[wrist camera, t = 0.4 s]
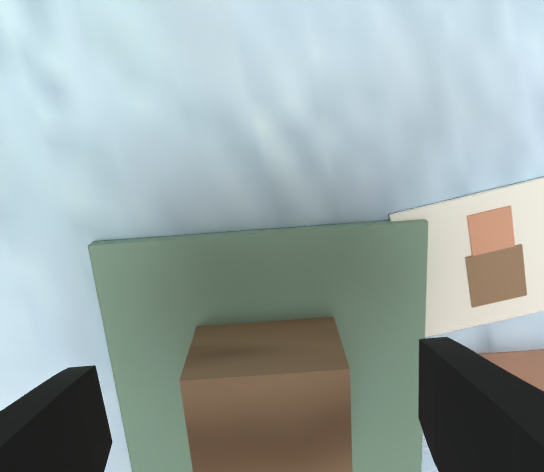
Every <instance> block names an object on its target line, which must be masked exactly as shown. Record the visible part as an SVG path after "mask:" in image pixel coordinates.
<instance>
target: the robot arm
mask: <svg viewBox="0 0 544 472" xmlns="http://www.w3.org/2000/svg"><path fill="white" fill-rule="evenodd" d="M418 418H419V421H420V424H421V427H422V430H423V433H424V436H425V439H426V441H427V444H428V447H429V450H430V452H431V455H432V458H433V460H434V463H435V465H436V467H437V469H438V471H439V472H544V391H542V390H540V389H538V388H537V387H535V386H533V385H531V384H529V383H527V382H526V381H524V380H522V379H520V378H519V377H517V376H515V375H513V374H511V373H510V372H508V371H506V370H504V369H503V368H501V367H499V366H498V365H496V364H494V363H492V362H491V361H489V360H487V359H486V358H484V357H482V356H480V355H479V354H477V353H475V352H474V351H472V350H470V349H468V348H467V347H465V346H463V345H461V344H460V343H458V342H456V341H454V340H452V339H450V338H448V337H441V338H428V339H419V397H418ZM111 445H112V438H111V433H110V429H109V424H108V420H107V415H106V411H105V406H104V402H103V397H102V393H101V388H100V384H99V379H98V375H97V370H96V366H83V367H71V368H67V369H65V370H63V371H61V372H60V373H58V374H56V375H54V376H53V377H51V378H50V379H48V380H47V381H45V382H43V383H42V384H40V385H39V386H37V387H36V388H34V389H33V390H31V391H30V392H28V393H27V394H25V395H24V396H22V397H21V398H20V399H18V400H17V401H15V402H14V403H12V404H11V405H9V406H8V407H6V408H5V409H3V410H2V411H0V472H104V470H105V467H106V463H107V460H108V456H109V452H110V449H111Z"/></svg>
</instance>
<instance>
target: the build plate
mask: <svg viewBox="0 0 544 472" xmlns="http://www.w3.org/2000/svg"><path fill="white" fill-rule="evenodd" d="M88 249H89V254H90V259H91V264H92V269H93V274H94V280H95V285H96V290H97V295H98V300H99V305H100V310H101V315H102V320H103V325H104V330H105V335H106V340H107V345H108V351H109V356H110V361H111V366H112V371H113V376H114V381H115V386H116V391H117V396H118V401H119V406H120V411H121V416H122V422H123V427H124V432H125V437H126V442H127V447H128V452H129V457H130V462H131V467H132V472H193V469H192V462H191V456H190V449H189V442H188V435H187V429H186V422H185V415H184V409H183V402H182V395H181V389H180V382H179V380H180V377H181V374H182V371H183V367H184V364H185V361H186V358H187V355H188V351H189V348H190V345H191V342H192V339H193V335H194V332H195V329H196V326H211V325H225V324H239V323H254V322H268V321H282V320H297V319H311V318H325V317H334V319H335V323H336V326H337V329H338V332H339V335H340V339H341V342H342V345H343V348H344V352H345V355H346V358H347V361H348V364H349V368H350V389H351V430H352V470H353V472H421V459H422V427H421V424H420V421H419V418H418V397H419V339H425V320H426V286H427V251H428V221H427V220H426V219H419V220H405V221H390V220H387V221H373V222H359V223H345V224H331V225H317V226H304V227H290V228H276V229H262V230H248V231H234V232H220V233H206V234H192V235H178V236H164V237H150V238H136V239H122V240H108V241H94V242H92V243H91V244H90V245H88Z"/></svg>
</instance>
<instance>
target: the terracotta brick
mask: <svg viewBox="0 0 544 472" xmlns="http://www.w3.org/2000/svg"><path fill="white" fill-rule="evenodd" d="M479 355H480V356H482V357H484V358H486V359H487V360H489V361H491V362H492V363H494V364H496V365H498V366H499V367H501V368H503V369H504V370H506V371H508V372H510V373H511V374H513V375H515V376H517V377H519V378H520V379H522V380H524V381H526V382H527V383H529V384H531V385H533V386H535V387H537V388H538V389H540V390H542V391H544V349H543V350H529V351H514V352H500V353H485V354H479Z"/></svg>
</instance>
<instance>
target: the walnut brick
mask: <svg viewBox="0 0 544 472" xmlns="http://www.w3.org/2000/svg"><path fill="white" fill-rule="evenodd" d="M179 382H180V389H181V395H182V402H183V409H184V415H185V422H186V429H187V435H188V442H189V449H190V456H191V462H192V469H193V472H353V470H352V430H351V389H350V368H349V364H348V361H347V358H346V355H345V352H344V348H343V345H342V342H341V339H340V335H339V332H338V329H337V326H336V323H335V319H334V317H325V318H311V319H297V320H282V321H268V322H254V323H239V324H225V325H211V326H196V329H195V332H194V335H193V339H192V342H191V345H190V348H189V351H188V355H187V358H186V361H185V364H184V367H183V371H182V374H181V377H180V380H179Z"/></svg>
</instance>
